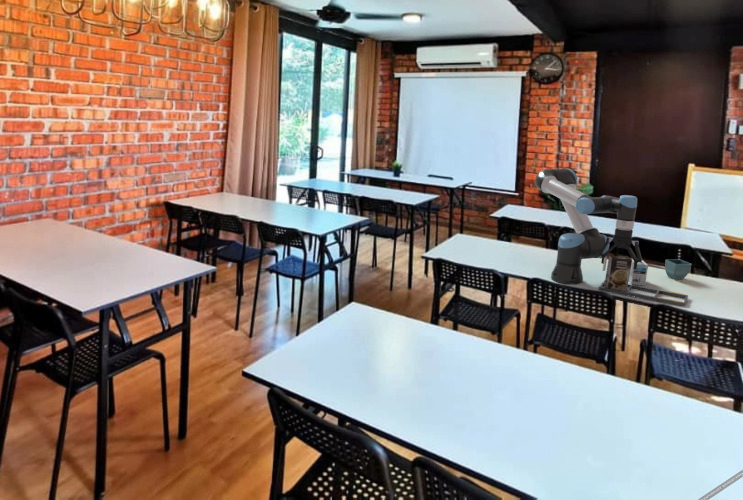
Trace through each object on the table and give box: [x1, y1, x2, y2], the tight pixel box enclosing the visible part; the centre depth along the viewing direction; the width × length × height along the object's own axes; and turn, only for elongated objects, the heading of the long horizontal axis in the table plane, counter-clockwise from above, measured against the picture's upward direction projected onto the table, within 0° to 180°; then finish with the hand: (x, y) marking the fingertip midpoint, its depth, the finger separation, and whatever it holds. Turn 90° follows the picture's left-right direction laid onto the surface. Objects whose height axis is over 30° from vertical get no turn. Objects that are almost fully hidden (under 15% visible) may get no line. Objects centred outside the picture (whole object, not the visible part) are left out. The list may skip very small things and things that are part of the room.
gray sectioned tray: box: [598, 280, 689, 308], centre depth 249 cm, size 36×13×2 cm, turn 56°
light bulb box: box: [628, 258, 649, 286], centre depth 267 cm, size 11×7×11 cm, turn 168°
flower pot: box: [664, 259, 692, 280], centre depth 274 cm, size 9×9×9 cm
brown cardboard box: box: [604, 255, 632, 291], centre depth 254 cm, size 9×6×16 cm
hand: (617, 272), depth 254 cm, fingers open, 12 cm apart
